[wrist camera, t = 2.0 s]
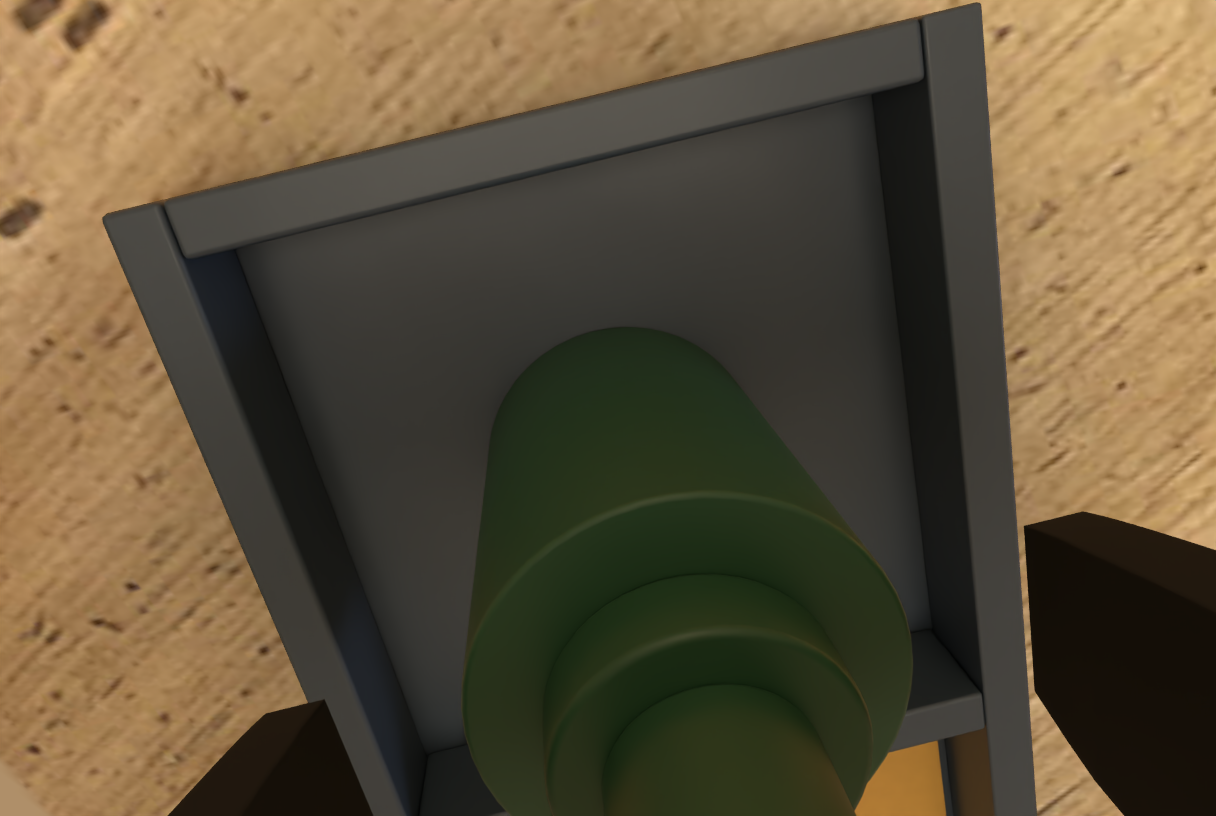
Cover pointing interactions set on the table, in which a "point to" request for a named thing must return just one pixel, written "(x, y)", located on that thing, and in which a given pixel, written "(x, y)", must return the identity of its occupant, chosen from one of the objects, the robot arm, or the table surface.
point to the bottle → (669, 601)
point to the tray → (611, 298)
